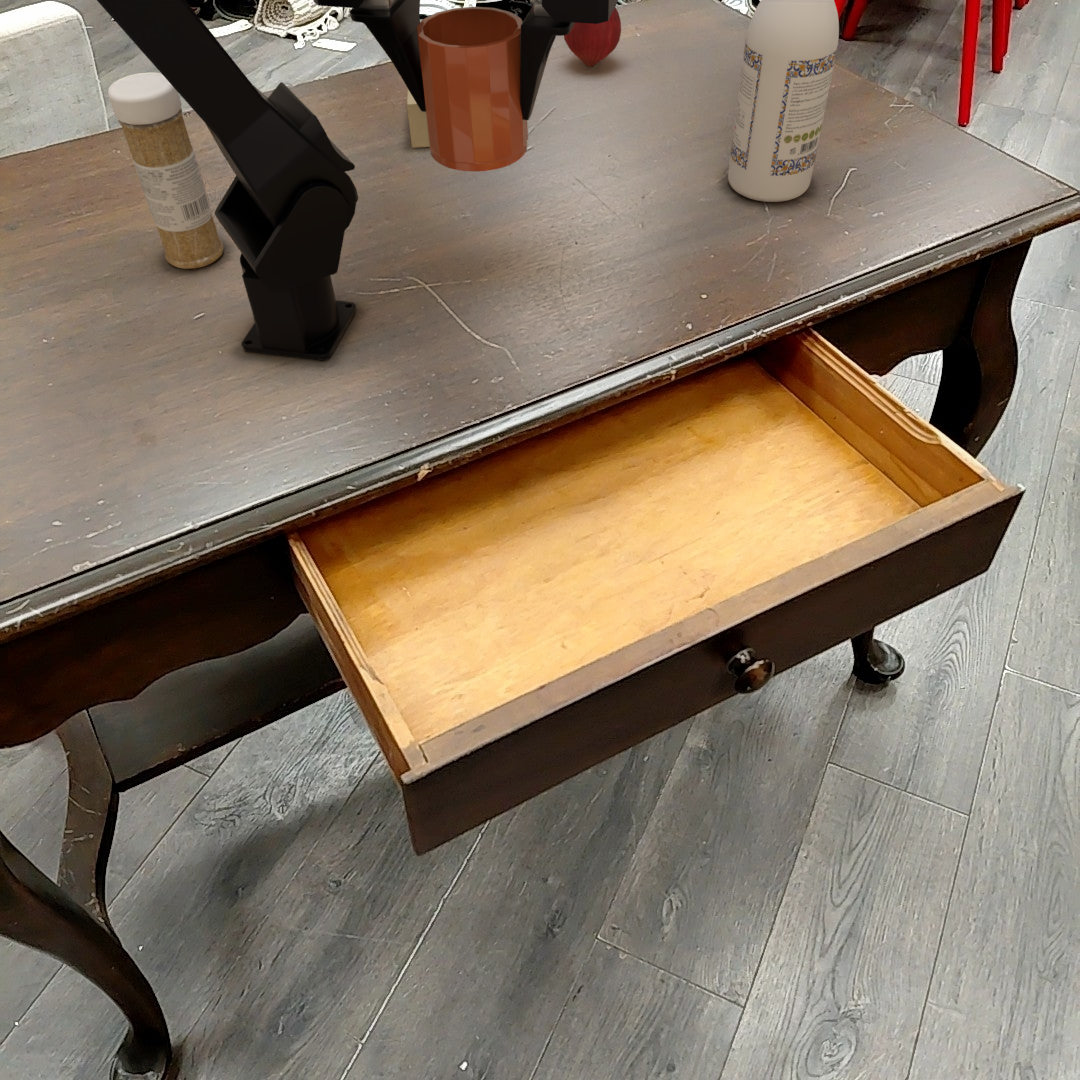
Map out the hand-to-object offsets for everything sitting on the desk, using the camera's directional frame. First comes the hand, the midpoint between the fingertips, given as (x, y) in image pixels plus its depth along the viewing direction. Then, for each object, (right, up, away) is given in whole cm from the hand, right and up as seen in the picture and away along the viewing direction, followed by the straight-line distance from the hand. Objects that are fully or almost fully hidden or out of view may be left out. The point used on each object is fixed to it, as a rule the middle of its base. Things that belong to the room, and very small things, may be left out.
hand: (476, 113), depth 66 cm
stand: (-3, +10, +26) cm, 28 cm away
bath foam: (+24, +1, +17) cm, 29 cm away
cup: (0, -2, +2) cm, 2 cm away
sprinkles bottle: (-23, -7, +11) cm, 26 cm away
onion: (+10, +20, +34) cm, 41 cm away
